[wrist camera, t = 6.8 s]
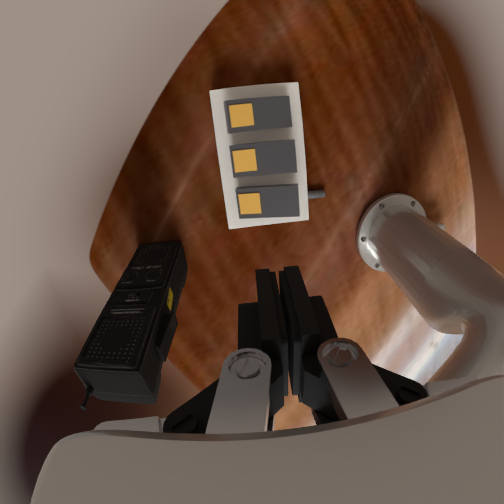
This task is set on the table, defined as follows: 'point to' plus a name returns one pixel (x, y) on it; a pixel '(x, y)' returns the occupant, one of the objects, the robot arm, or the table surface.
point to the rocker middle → (263, 158)
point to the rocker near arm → (268, 201)
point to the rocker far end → (257, 113)
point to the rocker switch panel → (260, 136)
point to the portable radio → (135, 328)
